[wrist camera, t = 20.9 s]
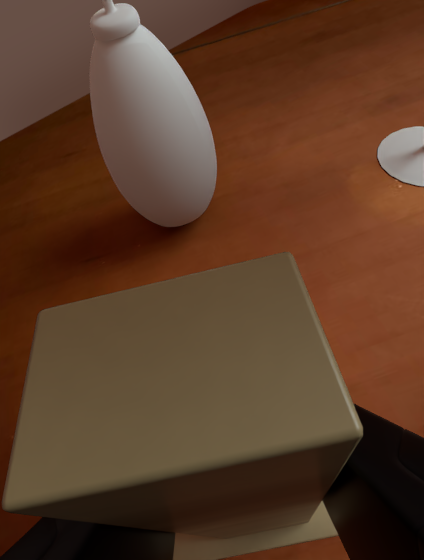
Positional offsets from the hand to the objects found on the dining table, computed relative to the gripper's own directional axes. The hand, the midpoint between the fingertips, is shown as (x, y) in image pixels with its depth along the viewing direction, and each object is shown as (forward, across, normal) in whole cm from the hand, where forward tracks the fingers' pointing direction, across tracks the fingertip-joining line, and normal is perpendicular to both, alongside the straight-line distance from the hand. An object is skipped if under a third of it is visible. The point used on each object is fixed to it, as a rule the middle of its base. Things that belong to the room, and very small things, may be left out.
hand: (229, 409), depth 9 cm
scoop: (+6, 0, +4) cm, 7 cm away
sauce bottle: (+24, +2, -4) cm, 24 cm away
